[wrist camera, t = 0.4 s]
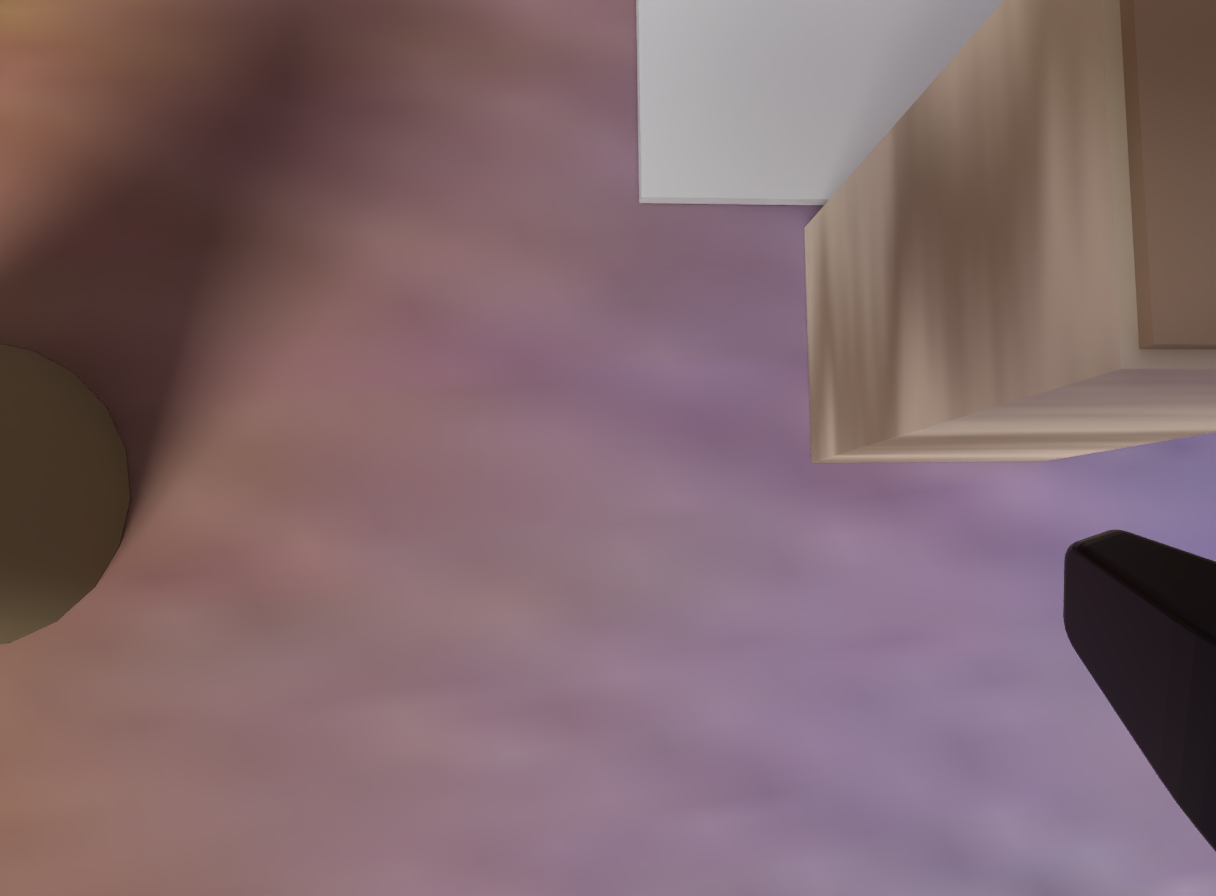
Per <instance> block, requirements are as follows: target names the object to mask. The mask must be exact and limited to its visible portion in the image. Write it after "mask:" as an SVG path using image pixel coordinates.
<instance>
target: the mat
mask: <svg viewBox="0 0 1216 896" xmlns="http://www.w3.org/2000/svg"><path fill="white" fill-rule="evenodd" d="M1002 2H1003V0H636V18H637V86H638V154H639V203H681V204H760V205H825V204H826V203H827V201H828V200H829V199H830V198H831V197H832V196H833V195H834V193H835V192H836V191H837V190H838V189H839V188H840V187H841V185H842V184H843V183H844V182H845V181H846V180H847V179H848V177H849V176H850V175H851V174H852V173H853V172H854V171H855V169H856V168H857V167H858V166H859V165H860V164H861V163H862V161H863V160H864V159H865V158H866V157H867V156H868V155H869V153H870V152H871V151H872V150H873V149H874V148H875V147H876V145H877V144H878V143H879V142H880V141H881V140H882V139H883V138H884V136H885V135H886V134H887V133H888V132H889V131H890V130H891V128H892V127H893V126H894V125H895V124H896V123H897V122H898V120H899V119H900V118H901V117H902V116H903V115H904V114H905V112H906V111H907V110H908V109H909V108H910V107H911V106H912V104H913V103H914V102H915V101H916V100H917V99H918V98H919V96H920V95H921V94H922V93H923V92H924V91H925V90H926V88H927V87H928V86H929V85H930V84H931V83H932V82H933V80H934V79H935V78H936V77H937V76H938V75H939V74H940V72H941V71H942V70H943V69H944V68H945V67H946V66H947V64H948V63H949V62H950V61H951V60H952V59H953V58H954V56H955V55H956V54H957V53H958V52H959V51H960V50H961V48H962V47H963V46H964V45H965V44H966V43H967V42H968V40H969V39H970V38H971V37H972V36H973V35H974V34H975V32H976V31H977V30H978V29H979V28H980V27H981V26H982V24H983V23H984V22H985V21H986V20H987V19H988V18H989V16H990V15H991V14H992V13H993V12H994V11H995V10H996V8H997V7H998V6H999V5H1000V4H1001V3H1002Z"/></svg>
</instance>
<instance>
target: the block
mask: <svg viewBox="0 0 1216 896" xmlns="http://www.w3.org/2000/svg"><path fill="white" fill-rule="evenodd" d="M804 230H805V265H806V300H807V335H808V370H809V405H810V440H811V463H847V462H1020V461H1048V460H1054V459H1060V458H1066V457H1072V456H1078V455H1083V454H1089V453H1095V452H1101V451H1107V450H1113V449H1119V448H1124V447H1130V446H1136V445H1142V444H1148V443H1154V442H1160V441H1165V440H1171V439H1177V438H1183V437H1189V436H1195V435H1201V434H1206V433H1212V432H1216V0H1003V2H1002V3H1001V4H1000V5H999V6H998V7H997V8H996V10H995V11H994V12H993V13H992V14H991V15H990V16H989V18H988V19H987V20H986V21H985V22H984V23H983V24H982V26H981V27H980V28H979V29H978V30H977V31H976V32H975V34H974V35H973V36H972V37H971V38H970V39H969V40H968V42H967V43H966V44H965V45H964V46H963V47H962V48H961V50H960V51H959V52H958V53H957V54H956V55H955V56H954V58H953V59H952V60H951V61H950V62H949V63H948V64H947V66H946V67H945V68H944V69H943V70H942V71H941V72H940V74H939V75H938V76H937V77H936V78H935V79H934V80H933V82H932V83H931V84H930V85H929V86H928V87H927V88H926V90H925V91H924V92H923V93H922V94H921V95H920V96H919V98H918V99H917V100H916V101H915V102H914V103H913V104H912V106H911V107H910V108H909V109H908V110H907V111H906V112H905V114H904V115H903V116H902V117H901V118H900V119H899V120H898V122H897V123H896V124H895V125H894V126H893V127H892V128H891V130H890V131H889V132H888V133H887V134H886V135H885V136H884V138H883V139H882V140H881V141H880V142H879V143H878V144H877V145H876V147H875V148H874V149H873V150H872V151H871V152H870V153H869V155H868V156H867V157H866V158H865V159H864V160H863V161H862V163H861V164H860V165H859V166H858V167H857V168H856V169H855V171H854V172H853V173H852V174H851V175H850V176H849V177H848V179H847V180H846V181H845V182H844V183H843V184H842V185H841V187H840V188H839V189H838V190H837V191H836V192H835V193H834V195H833V196H832V197H831V198H830V199H829V200H828V201H827V203H826V204H825V205H824V206H823V207H822V208H821V209H820V211H819V212H818V213H817V214H816V215H815V216H814V217H813V219H812V220H811V221H810V222H809V223H808V224H807V225H806V227H805V228H804Z"/></svg>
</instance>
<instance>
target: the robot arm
mask: <svg viewBox="0 0 1216 896" xmlns="http://www.w3.org/2000/svg"><path fill="white" fill-rule="evenodd" d="M1063 617H1064V625H1065V630H1066V632H1067V635H1068V638H1069V640H1070V642H1071V644H1072V646H1073V648H1074V649H1075V651H1076V653H1077V654H1078V656H1079V657H1080V659H1081V660H1082V662H1083V663H1084V665H1085V666H1086V668H1087V669H1088V671H1089V672H1090V674H1091V675H1092V677H1093V678H1094V680H1095V681H1096V683H1097V684H1098V686H1099V687H1100V689H1101V690H1102V692H1103V693H1104V695H1105V696H1106V698H1107V699H1108V701H1109V703H1110V704H1111V706H1112V707H1113V709H1114V710H1115V712H1116V713H1117V715H1118V716H1119V718H1120V719H1121V721H1122V722H1123V724H1124V725H1125V727H1126V728H1127V730H1128V731H1129V733H1130V734H1131V736H1132V737H1133V739H1134V740H1135V742H1136V743H1137V745H1138V746H1139V748H1140V749H1141V751H1142V752H1143V754H1144V755H1145V757H1146V758H1147V760H1148V762H1149V763H1150V765H1151V766H1152V768H1153V769H1154V771H1155V772H1156V774H1157V775H1158V777H1159V778H1160V780H1161V781H1162V782H1163V784H1164V785H1165V787H1166V788H1167V790H1168V791H1169V792H1170V794H1171V795H1172V797H1173V798H1174V800H1175V801H1176V802H1177V804H1178V805H1179V806H1180V808H1181V809H1182V810H1183V811H1184V813H1185V814H1186V815H1187V817H1188V818H1189V819H1190V820H1191V822H1192V823H1193V824H1194V825H1195V827H1196V828H1197V829H1198V831H1199V832H1200V833H1201V834H1202V835H1203V837H1204V838H1205V839H1206V840H1207V841H1208V843H1209V844H1210V845H1211V846H1212V848H1213V849H1214V850H1215V851H1216V562H1215V561H1212V560H1209V559H1206V558H1203V557H1200V556H1197V555H1195V554H1192V553H1189V552H1186V551H1183V550H1180V549H1177V548H1174V547H1171V546H1168V545H1165V544H1162V543H1159V542H1156V541H1153V540H1150V539H1147V538H1144V537H1142V536H1139V535H1136V534H1133V533H1130V532H1126V531H1122V530H1109V531H1106V532H1103V533H1100V534H1097V535H1094V536H1091V537H1088V538H1086V539H1083V540H1080V541H1077V542H1075V543H1073V544H1072V545H1070V546H1069V548H1068V550H1067V552H1066V554H1065V561H1064V612H1063Z"/></svg>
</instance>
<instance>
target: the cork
mask: <svg viewBox="0 0 1216 896" xmlns="http://www.w3.org/2000/svg"><path fill="white" fill-rule="evenodd" d="M130 498H131V497H130V487H129V476H128V466H127V455H126V449H125V447H124V445H123V443H122V441H121V438H120V436H119V434H118V432H117V430H116V427H115V425H114V423H113V421H112V418H111V416H110V414H109V412H108V410H107V408H106V407H105V405H104V404H103V403H102V402H101V401H100V400H99V399H98V398H97V397H96V396H95V395H94V394H93V393H92V392H91V390H90V389H89V388H88V387H87V386H86V385H85V384H84V383H83V382H82V381H81V380H80V379H79V378H78V377H77V375H76V374H75V373H73V372H71V371H69V370H67V369H66V368H64V367H62V366H60V365H58V364H56V363H55V362H53V361H51V360H49V359H47V358H45V357H44V356H42V355H40V354H38V353H36V352H34V351H33V350H28V349H23V348H18V347H13V346H7V345H2V344H0V644H5V643H11V642H13V641H15V640H17V639H19V638H21V637H24V636H26V635H28V634H30V633H32V632H34V631H37V630H39V629H41V628H43V627H45V626H48V625H50V624H52V623H54V622H56V621H57V620H59V619H60V618H61V617H62V616H63V615H64V614H65V613H66V612H67V611H69V610H70V609H71V608H72V607H73V606H74V605H75V604H76V603H78V602H79V601H80V600H81V599H82V598H83V597H84V596H85V595H87V594H88V593H89V592H90V591H91V590H92V589H93V588H94V587H95V585H96V584H97V582H98V580H99V579H100V577H101V575H102V574H103V572H104V570H105V569H106V567H107V565H108V564H109V562H110V560H111V559H112V557H113V555H114V554H115V552H116V550H117V549H118V547H119V545H120V541H121V537H122V533H123V529H124V524H125V520H126V516H127V511H128V507H129V503H130Z"/></svg>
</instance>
